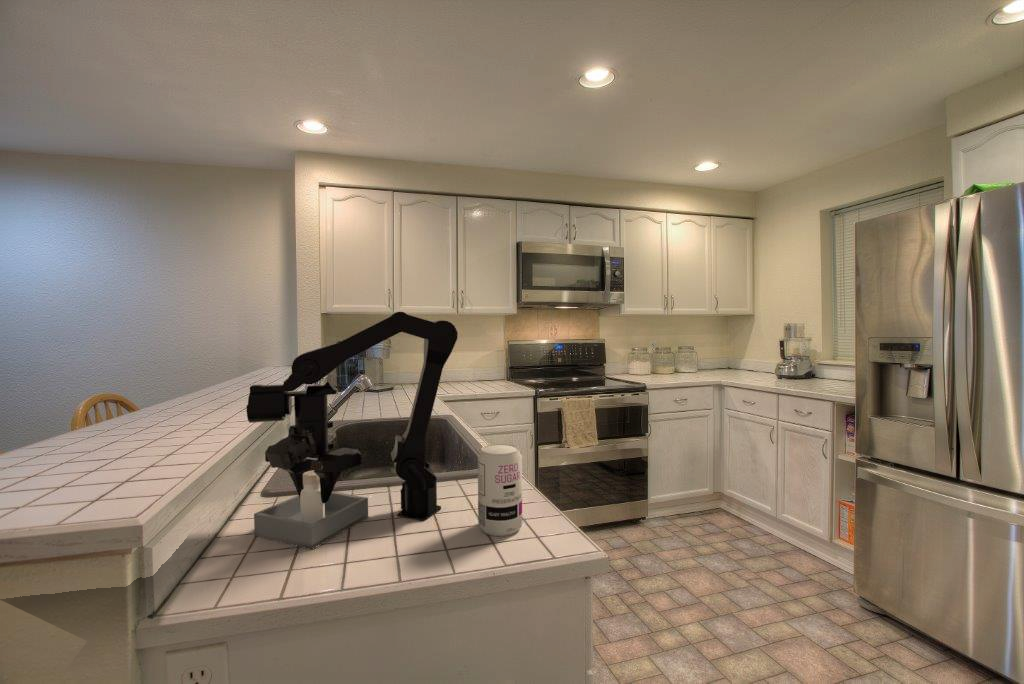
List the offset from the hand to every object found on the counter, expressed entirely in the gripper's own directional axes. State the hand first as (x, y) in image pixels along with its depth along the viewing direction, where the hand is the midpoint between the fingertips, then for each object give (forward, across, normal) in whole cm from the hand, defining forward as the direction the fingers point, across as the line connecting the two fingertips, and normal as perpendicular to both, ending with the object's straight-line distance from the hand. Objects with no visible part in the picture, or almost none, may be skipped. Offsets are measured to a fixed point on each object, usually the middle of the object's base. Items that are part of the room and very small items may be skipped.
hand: (313, 500), depth 88 cm
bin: (+5, 0, 0) cm, 5 cm away
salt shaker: (+4, 0, 0) cm, 4 cm away
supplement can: (+5, +33, +13) cm, 36 cm away
